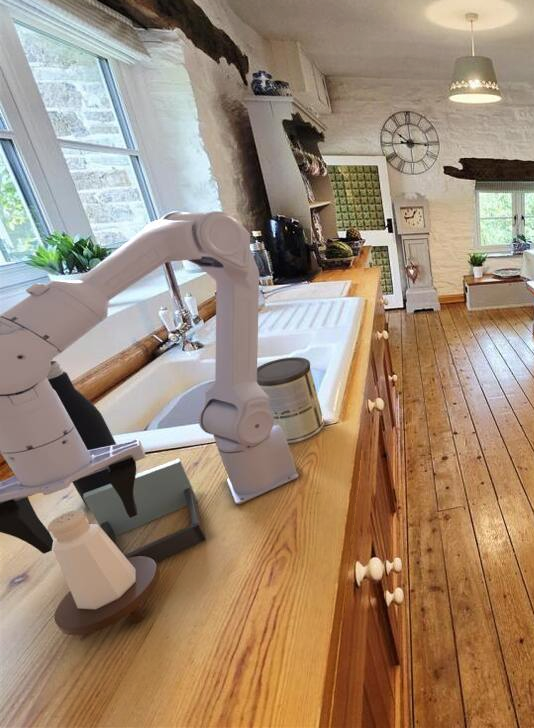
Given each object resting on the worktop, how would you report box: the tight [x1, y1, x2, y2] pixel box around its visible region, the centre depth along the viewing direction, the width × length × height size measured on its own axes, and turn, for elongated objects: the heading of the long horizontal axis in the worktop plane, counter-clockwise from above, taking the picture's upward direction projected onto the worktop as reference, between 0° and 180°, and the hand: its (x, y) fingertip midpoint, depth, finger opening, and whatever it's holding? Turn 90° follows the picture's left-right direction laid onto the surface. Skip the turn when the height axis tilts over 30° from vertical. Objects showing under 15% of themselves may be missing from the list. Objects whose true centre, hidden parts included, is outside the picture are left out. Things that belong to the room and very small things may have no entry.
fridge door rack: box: [83, 458, 206, 564], centre depth 58 cm, size 11×11×8 cm
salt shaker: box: [47, 509, 136, 609], centre depth 46 cm, size 5×5×11 cm
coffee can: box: [257, 356, 325, 445], centre depth 82 cm, size 10×10×14 cm
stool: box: [53, 556, 161, 636], centre depth 49 cm, size 9×9×4 cm
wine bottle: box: [47, 358, 118, 509], centre depth 62 cm, size 6×6×30 cm
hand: (92, 528), depth 50 cm, fingers open, 7 cm apart
